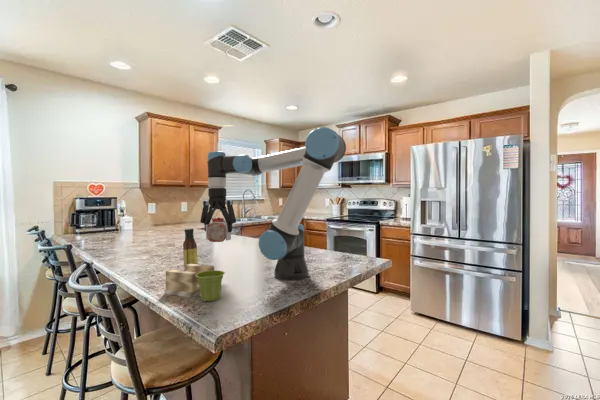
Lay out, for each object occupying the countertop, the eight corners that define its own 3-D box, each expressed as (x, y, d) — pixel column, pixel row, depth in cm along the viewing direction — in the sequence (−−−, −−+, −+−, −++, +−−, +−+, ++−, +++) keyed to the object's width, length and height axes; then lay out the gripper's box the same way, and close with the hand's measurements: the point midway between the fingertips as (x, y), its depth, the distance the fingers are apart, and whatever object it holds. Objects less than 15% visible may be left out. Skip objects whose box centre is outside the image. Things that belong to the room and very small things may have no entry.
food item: (225, 242, 120) (225, 218, 120) (205, 243, 119) (205, 219, 119) (229, 237, 134) (228, 216, 133) (211, 238, 133) (210, 216, 132)
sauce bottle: (200, 268, 143) (199, 227, 143) (194, 271, 137) (193, 229, 136) (187, 268, 144) (186, 227, 143) (180, 271, 137) (180, 229, 137)
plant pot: (191, 298, 101) (190, 273, 100) (216, 292, 107) (215, 268, 107) (203, 305, 94) (203, 279, 94) (229, 298, 100) (229, 273, 100)
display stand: (215, 285, 115) (215, 265, 115) (190, 297, 102) (190, 274, 102) (191, 282, 119) (190, 263, 119) (164, 293, 106) (164, 271, 106)
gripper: (244, 187, 125) (245, 239, 126) (202, 188, 133) (203, 237, 133) (234, 186, 118) (235, 241, 119) (190, 188, 126) (191, 239, 126)
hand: (218, 239), depth 126 cm, fingers closed on food item, 9 cm apart
